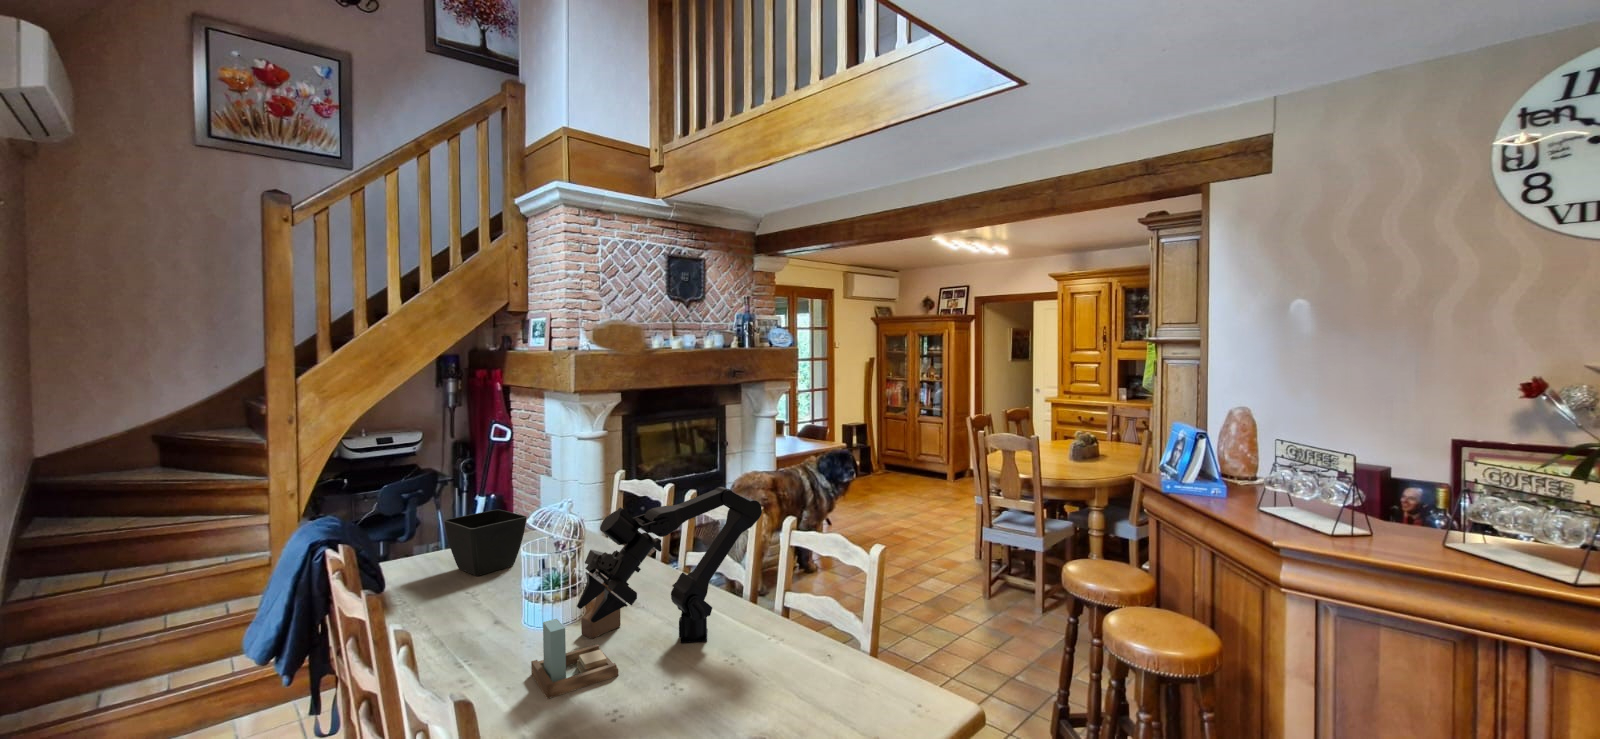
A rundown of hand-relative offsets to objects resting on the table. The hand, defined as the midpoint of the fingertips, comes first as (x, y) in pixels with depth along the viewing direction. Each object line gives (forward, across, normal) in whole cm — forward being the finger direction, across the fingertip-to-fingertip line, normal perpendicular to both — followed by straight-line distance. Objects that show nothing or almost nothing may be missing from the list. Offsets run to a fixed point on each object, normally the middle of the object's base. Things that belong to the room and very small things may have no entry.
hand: (584, 614), depth 139 cm
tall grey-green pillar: (+14, 0, +4) cm, 15 cm away
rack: (+11, 0, +8) cm, 13 cm away
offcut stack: (+8, 0, +10) cm, 13 cm away
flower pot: (+12, -88, +7) cm, 89 cm away
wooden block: (+2, -18, +16) cm, 25 cm away
